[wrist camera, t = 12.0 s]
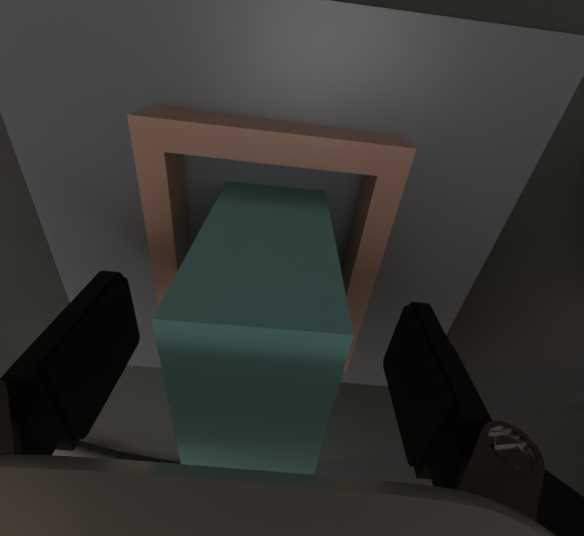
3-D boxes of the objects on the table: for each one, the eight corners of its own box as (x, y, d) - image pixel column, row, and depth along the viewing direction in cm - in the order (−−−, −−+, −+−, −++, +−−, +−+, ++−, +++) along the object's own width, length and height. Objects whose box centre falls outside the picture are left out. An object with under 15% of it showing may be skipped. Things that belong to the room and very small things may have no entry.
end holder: (580, 39, 11) (662, 35, 8) (413, 375, 21) (428, 418, 19) (-31, -45, 10) (-139, -76, 8) (100, 349, 20) (72, 391, 18)
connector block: (325, 190, 13) (353, 334, 6) (307, 303, 16) (314, 474, 10) (226, 181, 13) (151, 319, 6) (229, 296, 16) (181, 466, 10)
